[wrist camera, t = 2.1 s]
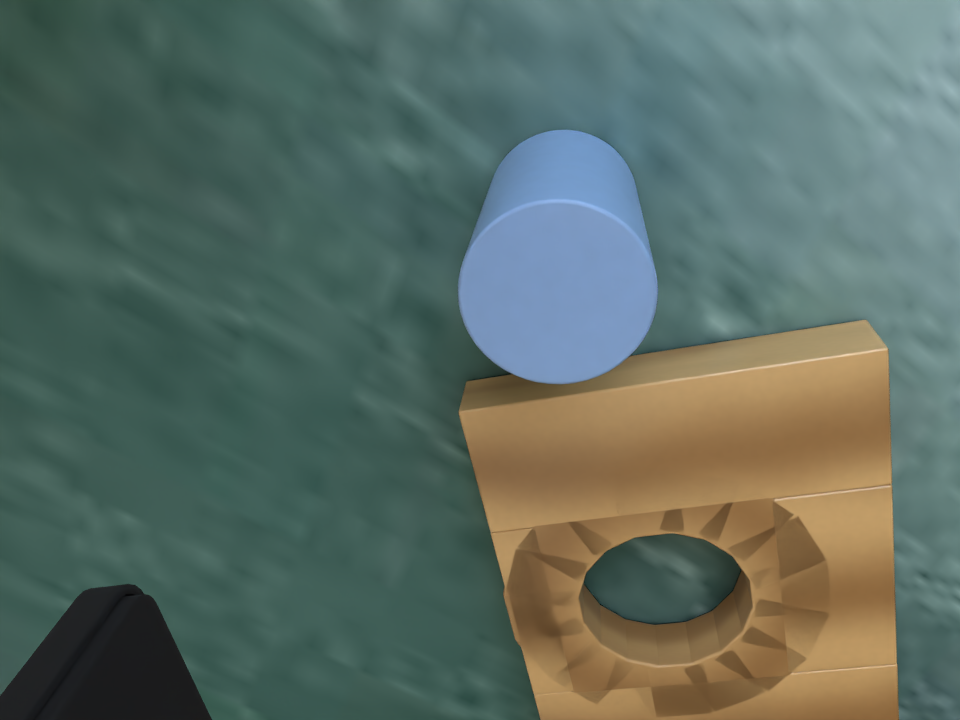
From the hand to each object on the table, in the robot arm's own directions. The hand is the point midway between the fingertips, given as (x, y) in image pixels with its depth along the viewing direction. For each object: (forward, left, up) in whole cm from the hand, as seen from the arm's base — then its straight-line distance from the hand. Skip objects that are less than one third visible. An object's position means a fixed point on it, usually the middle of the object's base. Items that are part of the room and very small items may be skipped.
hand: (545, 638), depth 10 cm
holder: (+12, +2, -16) cm, 21 cm away
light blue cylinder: (-1, 0, -16) cm, 16 cm away
